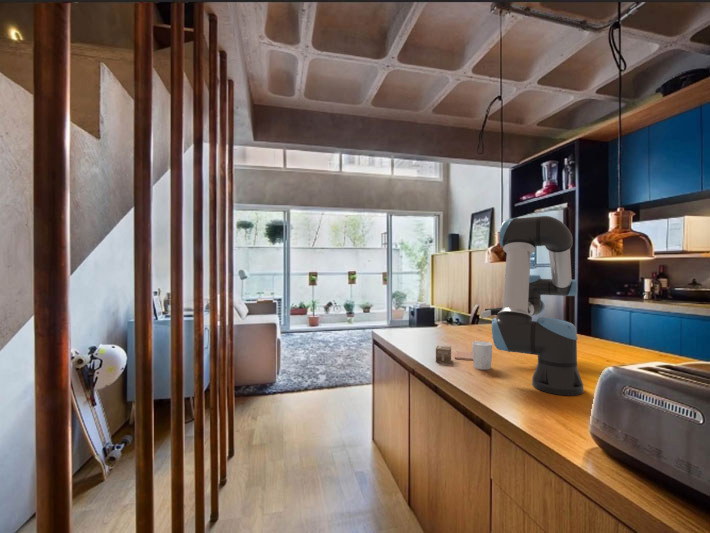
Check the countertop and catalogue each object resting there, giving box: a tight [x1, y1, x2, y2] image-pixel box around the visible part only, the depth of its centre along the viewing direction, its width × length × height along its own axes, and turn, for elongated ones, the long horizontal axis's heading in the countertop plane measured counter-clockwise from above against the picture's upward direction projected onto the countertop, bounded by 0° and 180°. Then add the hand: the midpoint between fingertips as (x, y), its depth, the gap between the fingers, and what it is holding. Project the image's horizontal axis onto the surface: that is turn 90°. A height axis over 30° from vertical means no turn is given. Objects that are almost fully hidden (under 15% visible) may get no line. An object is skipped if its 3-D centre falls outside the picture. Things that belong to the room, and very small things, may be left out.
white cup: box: [471, 340, 493, 371], centre depth 143 cm, size 8×8×10 cm
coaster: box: [454, 351, 473, 361], centre depth 159 cm, size 11×11×1 cm
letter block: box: [435, 345, 452, 364], centre depth 153 cm, size 6×6×6 cm
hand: (495, 317), depth 148 cm, fingers open, 13 cm apart
